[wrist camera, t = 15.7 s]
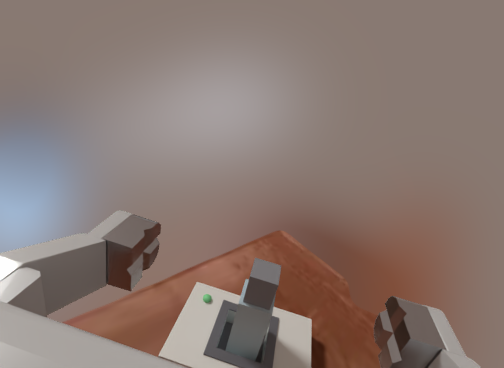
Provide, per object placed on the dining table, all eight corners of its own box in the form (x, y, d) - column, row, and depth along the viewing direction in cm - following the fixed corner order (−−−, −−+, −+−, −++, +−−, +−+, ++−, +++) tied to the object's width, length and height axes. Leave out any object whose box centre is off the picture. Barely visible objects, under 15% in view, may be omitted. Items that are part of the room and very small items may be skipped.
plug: (258, 338, 40) (284, 264, 34) (253, 366, 36) (281, 289, 30) (231, 329, 40) (252, 254, 34) (223, 356, 37) (245, 277, 30)
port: (305, 332, 43) (312, 317, 42) (302, 423, 32) (311, 407, 31) (194, 295, 45) (197, 279, 43) (156, 370, 34) (158, 353, 32)
